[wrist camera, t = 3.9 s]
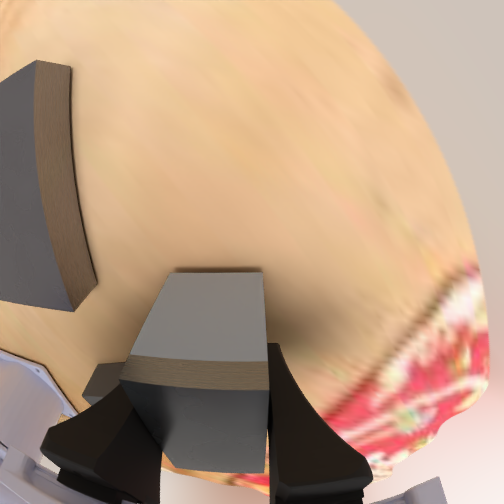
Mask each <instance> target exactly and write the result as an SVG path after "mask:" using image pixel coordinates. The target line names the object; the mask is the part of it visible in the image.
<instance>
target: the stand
mask: <svg viewBox="0 0 504 504" xmlns="http://www.w3.org/2000/svg"><path fill="white" fill-rule="evenodd" d="M69 84H70V66H65V65H61V64H56V63H51V62H45V61H40V60H36V61H34V62H32V63H30V64H29V65H27V66H25V67H24V68H22V69H20V70H19V71H17V72H16V73H14V74H12V75H11V76H9V77H8V78H6V79H5V80H3V81H2V82H1V83H0V300H2V301H7V302H12V303H18V304H23V305H29V306H35V307H41V308H48V309H55V310H62V311H69V312H74V311H75V310H76V309H77V308H78V307H79V305H80V304H81V303H82V302H83V300H84V299H85V298H86V297H87V296H88V294H89V293H90V292H91V291H92V290H93V288H94V287H95V286H96V285H97V282H96V279H95V276H94V272H93V268H92V265H91V261H90V257H89V253H88V249H87V245H86V241H85V237H84V232H83V227H82V223H81V217H80V212H79V207H78V201H77V195H76V188H75V181H74V173H73V164H72V154H71V142H70V122H69Z"/></svg>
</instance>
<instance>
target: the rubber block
mask: <svg viewBox="0 0 504 504" xmlns="http://www.w3.org/2000/svg"><path fill="white" fill-rule="evenodd" d="M125 363H126V362H124V363H111V364H98V365H97V367H96V369H95V371H94V373H93V375H92V376H91V378H90V380H89V382H88V384H87V386H86V388H85V390H84V392H83V394H82V397H83V398H84V399H85V400H86V401H87V402H88V403H89V404H90V405H91V406H92V405H94V404H95V403H97V402H98V401H99V400H101V399H102V398H103V397H105V396H106V395H107V394H108V393H109V392H111V391H112V390H113V389H114V388H115V387H116V386H117V385H118V384H119V383H120V381H119V379H118V378H119V376H120V374H121V371H122V369H123V367H124V365H125Z"/></svg>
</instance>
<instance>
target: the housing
mask: <svg viewBox="0 0 504 504" xmlns="http://www.w3.org/2000/svg"><path fill="white" fill-rule="evenodd" d="M118 379H119V381H120V383H121V385H122V387H123V389H124V391H125V392H126V394H127V396H128V398H129V399H130V401H131V403H132V405H133V406H134V408H135V410H136V411H137V413H138V415H139V416H140V418H141V419H142V421H143V423H144V424H145V426H146V427H147V429H148V430H149V432H150V433H151V435H152V436H153V438H154V439H155V441H156V442H157V443H158V445H159V446H160V448H161V449H162V451H163V452H164V453H165V455H166V456H167V457H168V459H169V460H170V461H171V463H172V464H173V465H174V466H175V468H182V469H189V470H198V471H208V472H222V473H264V468H265V454H266V439H267V423H268V405H269V374H268V355H267V336H266V319H265V302H264V285H263V272H252V273H170V274H169V276H168V278H167V280H166V282H165V283H164V285H163V287H162V289H161V291H160V293H159V295H158V297H157V299H156V301H155V303H154V305H153V307H152V309H151V311H150V312H149V314H148V316H147V318H146V321H145V323H144V325H143V327H142V329H141V331H140V333H139V335H138V337H137V339H136V341H135V343H134V345H133V347H132V350H131V352H130V354H129V356H128V358H127V360H126V363H125V365H124V367H123V369H122V371H121V374H120V376H119V378H118Z"/></svg>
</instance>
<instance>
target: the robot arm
mask: <svg viewBox="0 0 504 504" xmlns="http://www.w3.org/2000/svg"><path fill="white" fill-rule="evenodd" d="M267 355H268V374H269V405H268V423H267V429H268V439H269V476H270V504H363V501H362V498H363V497H364V492H363V489H364V488H365V487H366V486H367V485H369V484H370V483H371V482H372V480H373V474H372V471H371V468H370V466H369V464H368V462H367V460H366V458H365V457H364V456H363V455H362V454H360V453H359V452H357V451H356V450H355V449H354V448H352V447H351V446H350V445H349V444H347V443H346V442H345V441H344V440H343V439H342V438H341V437H339V436H338V435H337V434H336V433H335V432H334V431H333V430H332V429H331V428H330V427H329V426H328V425H327V424H326V423H325V421H324V420H323V419H322V418H321V417H320V416H319V415H318V413H317V412H316V411H315V410H314V408H313V407H312V406H311V404H310V403H309V402H308V400H307V399H306V397H305V396H304V394H303V393H302V391H301V390H300V388H299V387H298V385H297V383H296V382H295V380H294V378H293V376H292V374H291V372H290V370H289V368H288V366H287V364H286V362H285V360H284V357H283V355H282V352H281V349H280V345H279V344H278V343H267ZM61 414H63V415H66V416H69V417H72V418H70V419H68V420H66V421H64V422H62V423H59V424H57V422H58V420H59V418H60V416H61ZM56 424H57V425H56ZM43 455H45V456H46V457H47V458H48V459H49V460H51V461H52V462H53V463H54V464H56V465H57V466H58V467H60V468H61V469H60V472H59V474H57V473H55V472H53V471H51V470H49V469H47V468H45V467H43V466H42V465H40V464H39V463H40V461H41V459H42V456H43ZM161 461H162V449H161V448H160V446H159V445H158V443H157V442H156V441H155V439H154V438H153V436H152V435H151V433H150V432H149V430H148V429H147V427H146V426H145V424H144V423H143V421H142V419H141V418H140V416H139V415H138V413H137V411H136V410H135V408H134V406H133V405H132V403H131V401H130V399H129V398H128V396H127V394H126V392H125V391H124V389H123V387H122V385H121V383H119V384H118V385H117V386H116V387H115V388H114V389H113V390H112V391H111V392H109V393H108V394H107V395H106V396H105V397H103V398H102V399H101V400H99V401H98V402H97V403H95V404H94V405H92V406H91V407H89V408H88V409H86V410H85V411H83V412H81V413H80V414H78V413H77V412H76V411H75V409H74V408H73V407H72V405H71V404H70V403H69V402H68V400H67V399H66V398H65V396H64V395H63V393H62V392H61V391H60V389H59V388H58V386H57V385H56V384H55V382H54V381H53V379H52V378H51V376H50V375H49V373H48V372H47V370H46V369H45V368H44V367H43V366H42V365H39V364H36V363H33V362H30V361H28V360H25V359H22V358H20V357H17V356H14V355H12V354H9V353H7V352H4V351H2V350H0V504H137V503H138V504H160V473H161ZM371 504H447V501H446V497H445V494H444V491H443V488H442V485H441V481H440V478H439V477H435V478H433V479H431V480H428V481H426V482H424V483H421V484H419V485H416V486H414V487H412V488H410V489H408V490H407V491H406V492H405V493H402V494H399V495H397V496H394V497H391V498H387V499H384V500H381V501H378V502H374V503H371Z"/></svg>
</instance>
